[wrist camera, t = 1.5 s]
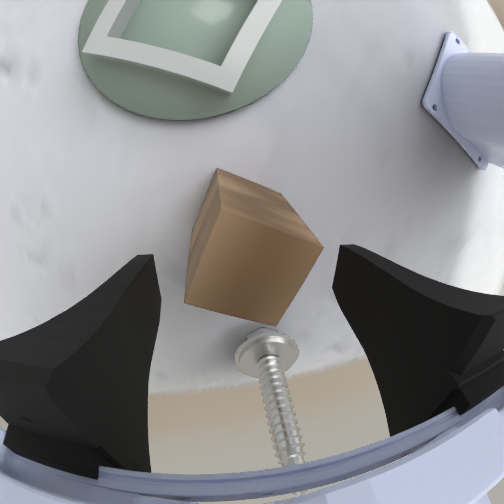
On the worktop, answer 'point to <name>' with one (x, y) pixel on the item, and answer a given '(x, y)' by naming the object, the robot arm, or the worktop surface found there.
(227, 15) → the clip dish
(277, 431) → the screw
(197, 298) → the brown tall block
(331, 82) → the worktop surface
